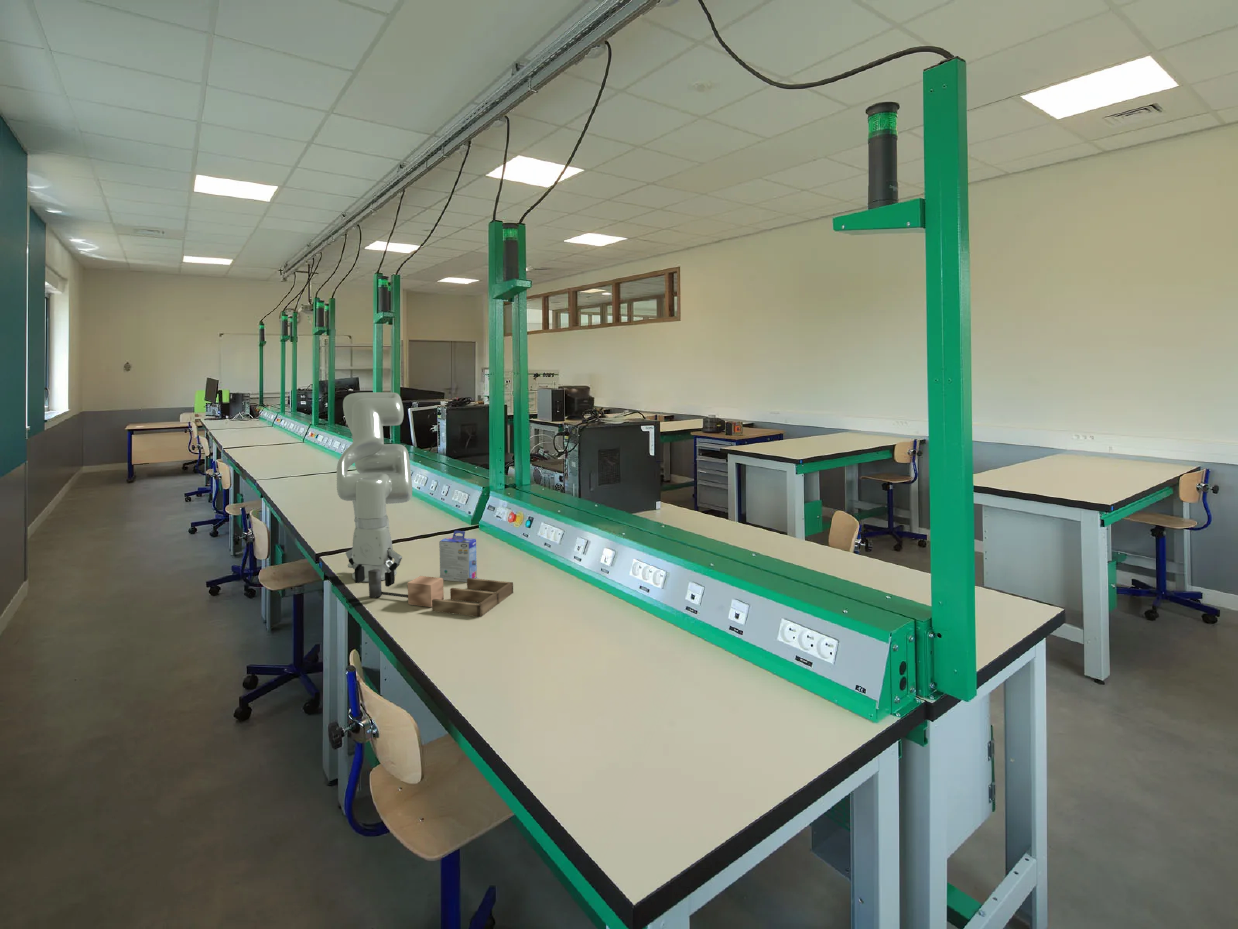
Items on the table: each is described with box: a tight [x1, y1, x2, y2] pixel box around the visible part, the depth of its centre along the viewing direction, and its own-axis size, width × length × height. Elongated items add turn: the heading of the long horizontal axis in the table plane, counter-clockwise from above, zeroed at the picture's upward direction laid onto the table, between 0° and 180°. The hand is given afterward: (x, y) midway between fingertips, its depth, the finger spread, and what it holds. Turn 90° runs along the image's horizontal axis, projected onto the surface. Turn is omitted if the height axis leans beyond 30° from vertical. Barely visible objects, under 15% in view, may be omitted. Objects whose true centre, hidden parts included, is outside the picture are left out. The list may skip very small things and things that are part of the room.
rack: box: [431, 578, 514, 618], centre depth 169 cm, size 14×19×3 cm
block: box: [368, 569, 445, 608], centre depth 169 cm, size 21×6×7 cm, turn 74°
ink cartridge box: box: [439, 530, 478, 583], centre depth 187 cm, size 10×6×14 cm, turn 79°
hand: (374, 583), depth 172 cm, fingers open, 9 cm apart
